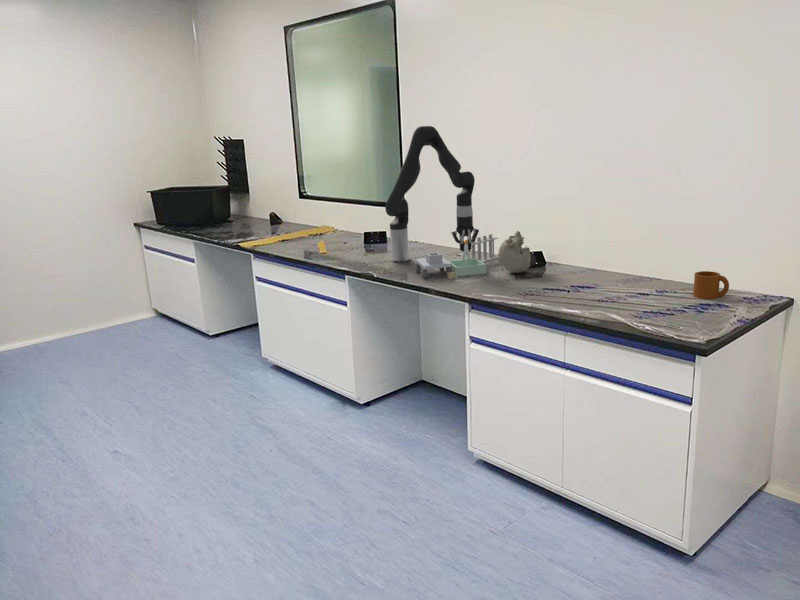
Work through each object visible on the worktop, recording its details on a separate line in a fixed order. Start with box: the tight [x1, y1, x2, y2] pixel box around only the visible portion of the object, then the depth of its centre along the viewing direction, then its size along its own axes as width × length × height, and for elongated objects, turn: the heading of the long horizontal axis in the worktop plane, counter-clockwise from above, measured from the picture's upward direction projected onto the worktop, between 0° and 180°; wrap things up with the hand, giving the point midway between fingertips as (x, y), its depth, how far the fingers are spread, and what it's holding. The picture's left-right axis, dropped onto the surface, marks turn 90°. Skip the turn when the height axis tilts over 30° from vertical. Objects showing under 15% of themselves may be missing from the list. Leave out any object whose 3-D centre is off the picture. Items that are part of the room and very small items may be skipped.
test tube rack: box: [469, 233, 499, 264], centre depth 317 cm, size 25×4×13 cm, turn 132°
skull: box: [497, 230, 531, 274], centre depth 291 cm, size 13×15×20 cm
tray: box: [447, 257, 487, 278], centre depth 301 cm, size 15×15×4 cm
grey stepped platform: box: [414, 251, 456, 280], centre depth 298 cm, size 20×14×10 cm
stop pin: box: [462, 239, 470, 262], centre depth 299 cm, size 3×3×10 cm
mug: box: [692, 270, 730, 300], centre depth 239 cm, size 9×12×9 cm
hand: (465, 250), depth 299 cm, fingers closed on stop pin, 2 cm apart
